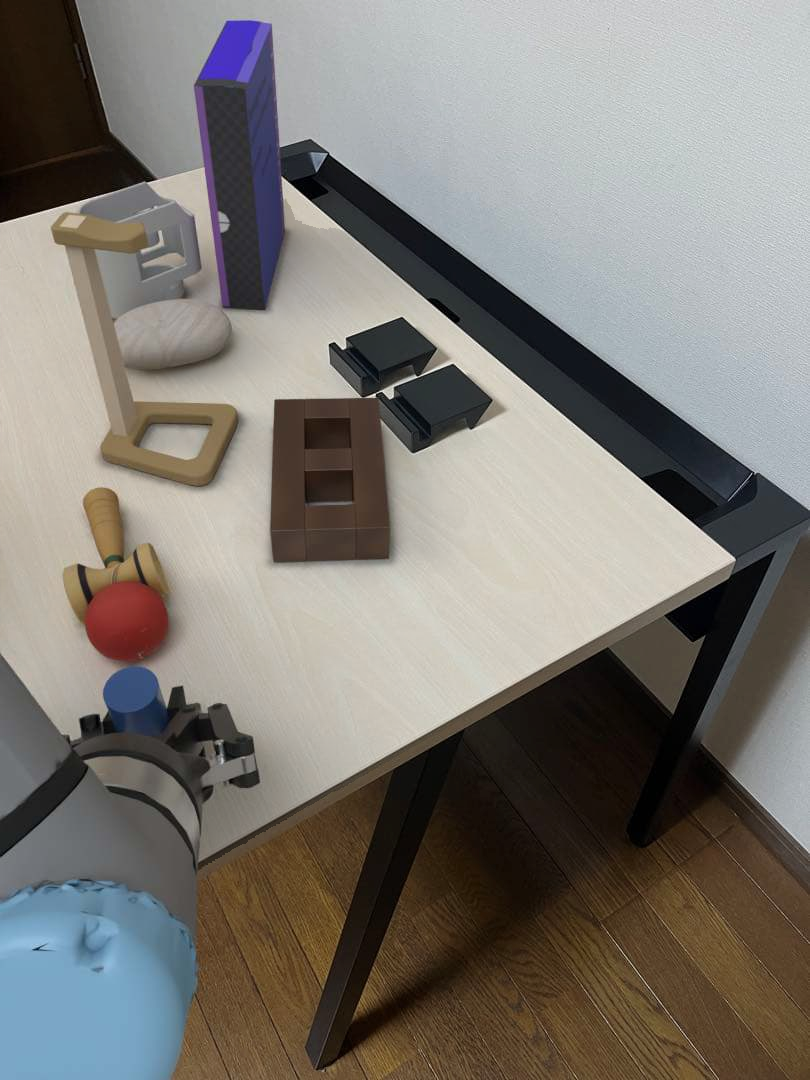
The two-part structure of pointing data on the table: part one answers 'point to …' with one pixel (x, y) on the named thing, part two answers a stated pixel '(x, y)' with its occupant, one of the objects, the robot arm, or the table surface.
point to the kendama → (118, 587)
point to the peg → (136, 702)
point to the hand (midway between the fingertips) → (152, 710)
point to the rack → (328, 481)
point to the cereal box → (242, 160)
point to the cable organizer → (124, 270)
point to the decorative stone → (171, 333)
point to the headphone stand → (123, 412)
